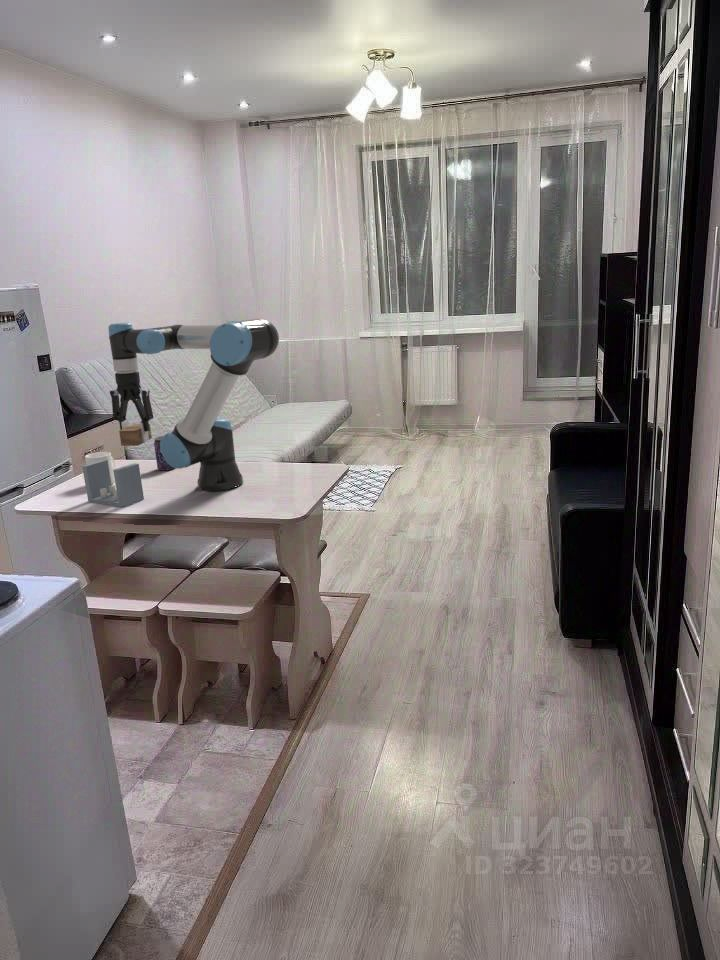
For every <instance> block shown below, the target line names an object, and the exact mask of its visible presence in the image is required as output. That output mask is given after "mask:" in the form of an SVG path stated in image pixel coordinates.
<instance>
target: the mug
mask: <svg viewBox="0 0 720 960" xmlns="http://www.w3.org/2000/svg"><path fill="white" fill-rule="evenodd" d="M84 457H85V458H84V459H85V465H87V464H90V463H94V462H97V461H100V460H108V466H109V472H110V478H111V484H112V485H114V483H115V478H114V472H113V470H115V469H116V463H115V458H114V457H113V456H112V453H111V452H109V451H98V452H91V453H89V454H86V455H85V456H84Z"/></svg>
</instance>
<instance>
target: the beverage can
mask: <svg viewBox="0 0 720 960" xmlns="http://www.w3.org/2000/svg"><path fill="white" fill-rule="evenodd" d="M163 436H164V435H162V436H157V437H155V438H154V442H153V445H154V454H155V459H156V465H157V466H156V467H157V469H158V470H160V471H171V470H173V469H175V468H174V467H172V466H170V465H169V464H168V463H167V462H166V461H165V459H164V457H163V455H162V452H161V449H160V441H161V438H162V437H163Z"/></svg>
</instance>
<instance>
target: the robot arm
mask: <svg viewBox="0 0 720 960" xmlns="http://www.w3.org/2000/svg"><path fill="white" fill-rule="evenodd" d="M279 336H280V335H279V333H278V329H277V327H276V326H275V324H273V323H272V322H270V321H269V320H266V319H263V318H253V319H248V320H240V321H227V322H226V323H222V324H211V325H210V324H209V325H208V324H207V325H206V324H201V325H200V324H199V325H197V324H195V325H191V324H190V325H187V324H174V325H167V326H159V327H152V328H145V329H143V328H142V329H134V327H133V324H132V323H131V322H117V323H116V322H115V323H111V324H109V325H108V338H109V339H108V340H109V345H110V351H111V357H112V365H113V371H114V372H115V374H114V377H115V384H116V385H117V387H116V389H112V390H110V391H109V394H110V397H111V408H112V418H113V419H112V420H113V421H117V422H118V423H119V429H120V430H122V429H124V428H126V427H129V426H130V425H129V421H128V420H127V412H128V406H129V402H130V401H131V402H132V403H133V404H134V406H135V409H136V411H137V413H138V416H139V417H140V420H141V421H140V422H139V424H140V427H141V433H142V441H143V442H144V443H146V442H147V441H149V436H148V431H149V424H150V423H149V421H150V420H153V419H154V412H153V409H152V403H151V399H150V389H147V388H146V389H144V388H142V386H141V377H140V372H139V371H138V370H139V365H138V363H139V362H138V358H137V356H138V355H137V354H143V355H144V354H147V355H154V354H159V353H161V352H165V351H170V350H209V352H210V359H211V361H212V363H211V365H210V367H209V369H208V371H207V373H206V375H205V377H204V379H203V380H202V383H201V385H200V386H199V389H198V390H197V393H196V395H195V397H194V398H193V401H192V403H191V405H190V407H189V409H188V411H187V413H186V415H185V417H182V418H180V419H178V421H177V422H176V424H175V426H174V428H173V430H172V431H171V432H167V433H166V434H164V435H162V436H163V437H162V438H161V441H160V449H161V452H162V455H163V457H164V459H165V461H166V462H167V463H168V464H169V465H170V466H172V467H174V469H177V470H178V469H183V468H189V467H190V466H194V465H195V464H196V465H197V464H199V463H200V464H199V465H200V467H199V472H198V478H197V482H196V483H197V489H199V490H200V491H205V492H220V491H222V490H223V491H227V490H226V489H229V488H233V487H235V486H238V485H240V484H242V483H243V484H244V478H243V474H242V473H241V472H240V469H239V466H238V463H237V461H236V455H235V454H236V453H235V444H234V436H233V433H234V432H233V428H232V423H231V420H230V419H228V418H224V417H223V418H222V417H219V415H220V413H221V411H222V409H223V407H224V406H225V404H226V401H227V400H228V398H229V396H230V395H231V392H232V391H233V388H234V387H235V384H236V383H237V381H238V380H239V377H242V376H245V375H247V374H248V371H249V370H250V368H251V366H252V364H253V362H254V361H258V360H261V359H266V358H268V357H270V356H271V355H273V354H274V352H276V350H277V348H278V346H279V342H280V337H279ZM120 430H119V431H120ZM145 441H146V442H145ZM243 484H242V485H243ZM240 486H241V485H240ZM238 487H239V486H238ZM233 489H234V488H233ZM229 490H230V489H229Z"/></svg>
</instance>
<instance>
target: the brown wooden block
mask: <svg viewBox="0 0 720 960" xmlns="http://www.w3.org/2000/svg"><path fill="white" fill-rule="evenodd" d="M118 432H119V439H120V445H121V447H122V446H123V447H127V446H128V447H129V446H130V447H131V446H132V447H136V446H137V447H139V446H141V445H142V444H144V443H146V442H147V441H145V442H143V441H142V433H141V427H140V423H135V424H133V423H132V424H130V425H129V427H126V428H124V429H122V430H118ZM148 436H149V440H151V439H153V437H152V430H151V424H150V423H149V431H148ZM149 440H148V441H149Z"/></svg>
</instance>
